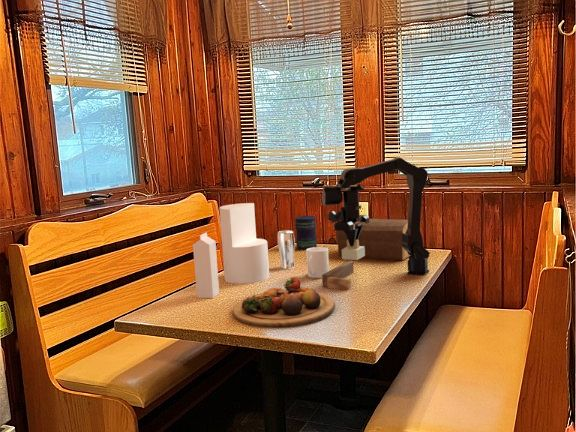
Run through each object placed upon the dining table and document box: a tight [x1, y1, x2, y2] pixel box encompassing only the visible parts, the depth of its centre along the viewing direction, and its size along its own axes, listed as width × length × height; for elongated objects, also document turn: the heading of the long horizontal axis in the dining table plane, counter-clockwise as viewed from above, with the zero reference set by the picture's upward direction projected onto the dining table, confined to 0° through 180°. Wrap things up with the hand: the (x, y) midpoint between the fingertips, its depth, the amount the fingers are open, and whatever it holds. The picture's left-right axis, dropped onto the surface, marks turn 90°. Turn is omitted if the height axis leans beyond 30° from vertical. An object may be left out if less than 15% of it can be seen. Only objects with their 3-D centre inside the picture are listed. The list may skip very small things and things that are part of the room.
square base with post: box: [341, 240, 365, 261], centre depth 207 cm, size 6×7×6 cm
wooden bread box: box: [335, 218, 411, 261], centre depth 244 cm, size 18×30×16 cm, turn 61°
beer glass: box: [277, 229, 296, 270], centre depth 230 cm, size 7×7×15 cm
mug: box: [305, 246, 330, 279], centre depth 214 cm, size 12×8×10 cm
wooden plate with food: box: [232, 276, 336, 329], centre depth 176 cm, size 32×32×8 cm
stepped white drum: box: [219, 202, 270, 285], centre depth 217 cm, size 17×17×28 cm
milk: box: [192, 231, 220, 299], centre depth 196 cm, size 6×6×22 cm
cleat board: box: [321, 260, 354, 291], centre depth 206 cm, size 10×22×4 cm, turn 149°
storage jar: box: [294, 215, 318, 251], centre depth 266 cm, size 10×10×15 cm
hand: (353, 245), depth 207 cm, fingers closed on square base with post
